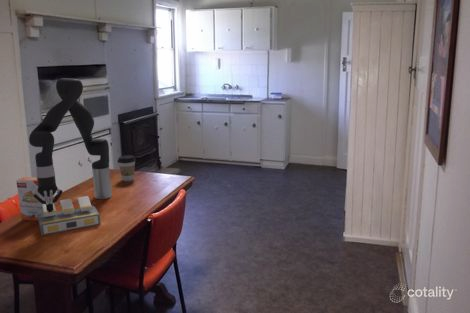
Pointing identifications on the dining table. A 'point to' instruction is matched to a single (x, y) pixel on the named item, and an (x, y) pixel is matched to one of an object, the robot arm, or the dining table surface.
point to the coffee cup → (127, 167)
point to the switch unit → (68, 221)
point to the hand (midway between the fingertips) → (50, 211)
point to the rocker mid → (67, 206)
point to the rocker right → (84, 203)
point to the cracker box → (29, 199)
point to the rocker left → (49, 212)
